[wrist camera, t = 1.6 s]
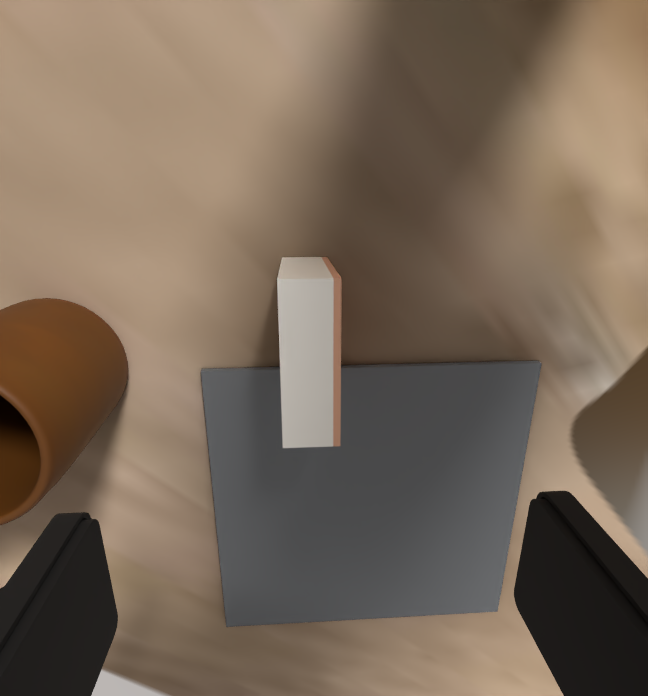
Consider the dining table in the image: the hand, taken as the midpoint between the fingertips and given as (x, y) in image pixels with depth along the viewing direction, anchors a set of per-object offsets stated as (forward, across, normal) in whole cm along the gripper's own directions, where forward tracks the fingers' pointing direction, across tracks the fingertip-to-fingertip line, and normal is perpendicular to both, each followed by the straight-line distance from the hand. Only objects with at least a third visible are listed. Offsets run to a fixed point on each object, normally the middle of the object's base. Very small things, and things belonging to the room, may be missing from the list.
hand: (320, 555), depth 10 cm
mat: (+17, -4, +12) cm, 22 cm away
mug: (+18, +15, +4) cm, 23 cm away
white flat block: (+17, 0, 0) cm, 17 cm away
